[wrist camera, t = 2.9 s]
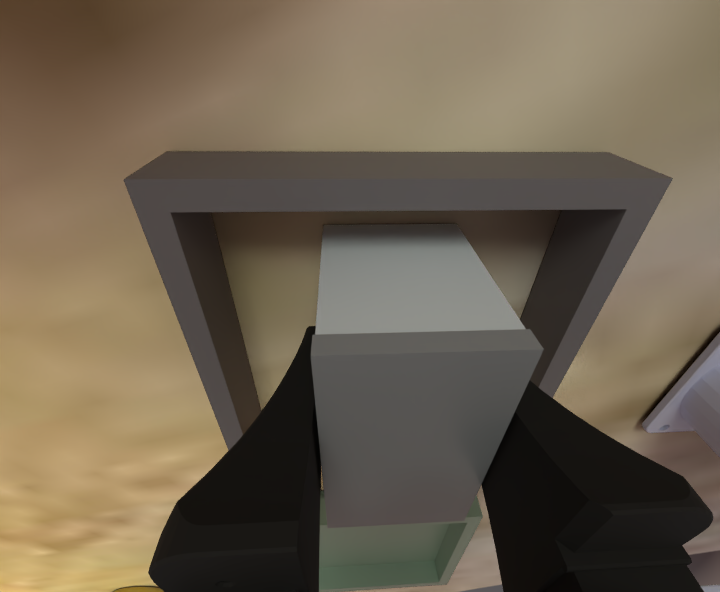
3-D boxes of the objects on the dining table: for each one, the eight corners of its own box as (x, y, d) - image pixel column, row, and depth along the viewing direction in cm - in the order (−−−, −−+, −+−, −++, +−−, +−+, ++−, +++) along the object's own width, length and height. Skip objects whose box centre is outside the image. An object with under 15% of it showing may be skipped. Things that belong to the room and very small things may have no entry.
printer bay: (609, 152, 11) (672, 178, 9) (501, 408, 18) (521, 453, 16) (166, 151, 10) (123, 179, 8) (246, 417, 17) (234, 467, 15)
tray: (472, 483, 23) (482, 516, 21) (441, 556, 31) (446, 584, 29) (266, 493, 22) (260, 528, 21) (288, 565, 30) (285, 595, 29)
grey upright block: (458, 222, 12) (543, 349, 7) (427, 380, 16) (464, 520, 12) (321, 223, 11) (310, 356, 7) (330, 383, 16) (327, 528, 11)
